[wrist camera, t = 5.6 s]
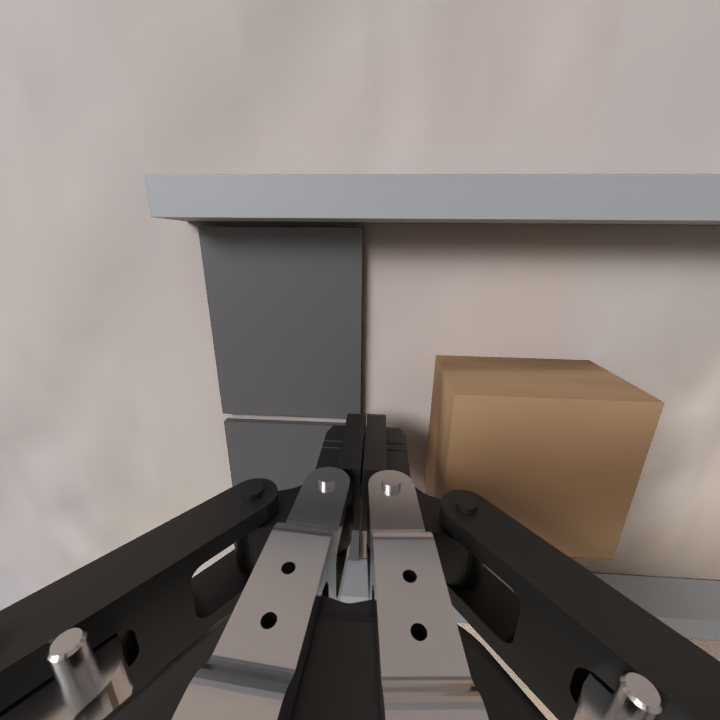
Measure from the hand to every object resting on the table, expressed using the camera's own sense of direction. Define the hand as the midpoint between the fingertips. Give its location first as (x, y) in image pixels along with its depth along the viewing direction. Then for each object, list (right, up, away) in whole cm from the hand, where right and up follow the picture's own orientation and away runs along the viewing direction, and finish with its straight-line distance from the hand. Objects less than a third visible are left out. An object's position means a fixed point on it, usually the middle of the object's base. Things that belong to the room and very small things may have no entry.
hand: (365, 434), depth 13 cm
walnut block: (+6, 0, +1) cm, 6 cm away
